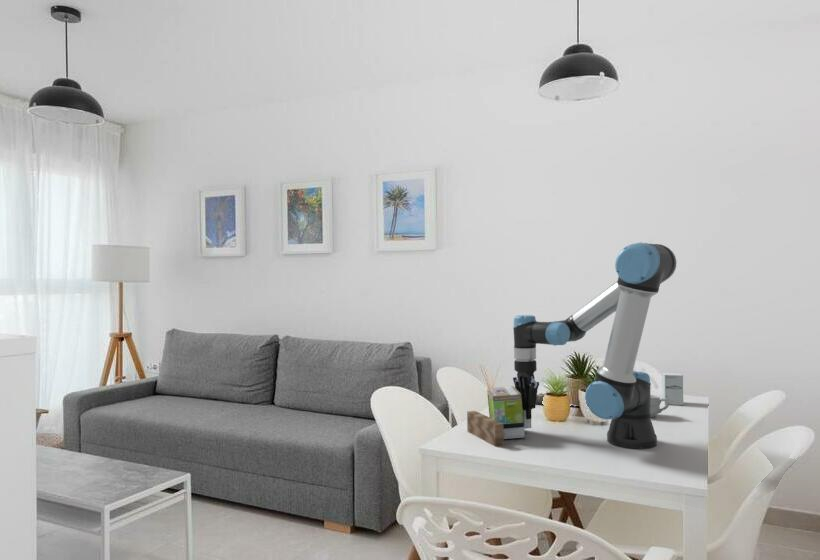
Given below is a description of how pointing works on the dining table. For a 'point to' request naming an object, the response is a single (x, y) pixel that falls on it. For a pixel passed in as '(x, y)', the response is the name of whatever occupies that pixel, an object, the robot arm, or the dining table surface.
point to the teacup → (657, 405)
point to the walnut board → (485, 428)
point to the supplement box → (672, 388)
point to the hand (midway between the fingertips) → (526, 427)
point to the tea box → (507, 410)
